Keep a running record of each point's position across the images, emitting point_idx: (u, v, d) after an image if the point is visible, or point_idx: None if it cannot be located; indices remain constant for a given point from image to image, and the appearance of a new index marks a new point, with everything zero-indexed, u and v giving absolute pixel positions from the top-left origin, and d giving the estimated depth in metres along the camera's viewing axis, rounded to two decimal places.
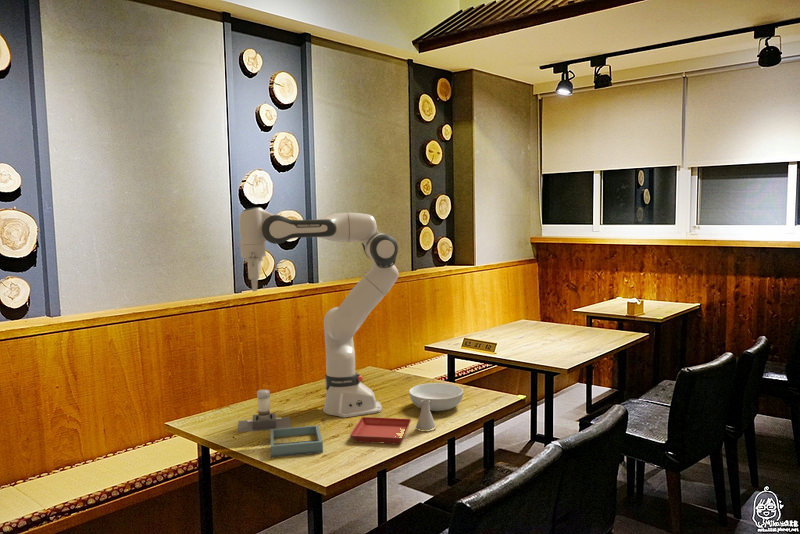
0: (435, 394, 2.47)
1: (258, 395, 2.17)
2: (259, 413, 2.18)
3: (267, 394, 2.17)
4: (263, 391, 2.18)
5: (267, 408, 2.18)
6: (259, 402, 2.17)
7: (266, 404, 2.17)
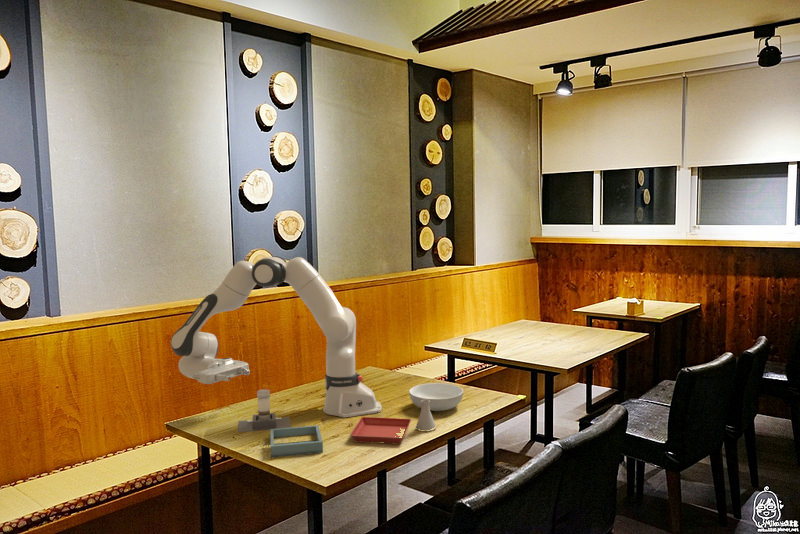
0: (435, 394, 2.47)
1: (258, 395, 2.17)
2: (259, 413, 2.18)
3: (267, 394, 2.17)
4: (263, 391, 2.18)
5: (267, 408, 2.18)
6: (259, 402, 2.17)
7: (266, 404, 2.17)
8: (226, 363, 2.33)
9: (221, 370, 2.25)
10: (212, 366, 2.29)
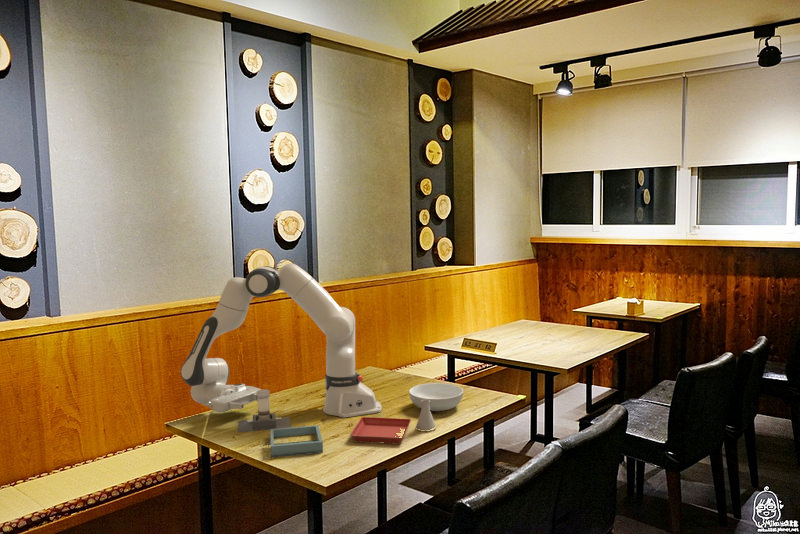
0: (435, 394, 2.47)
1: (258, 395, 2.17)
2: (259, 413, 2.18)
3: (267, 394, 2.17)
4: (263, 391, 2.18)
5: (267, 408, 2.18)
6: (259, 402, 2.17)
7: (266, 404, 2.17)
8: (239, 390, 2.31)
9: (234, 397, 2.22)
10: (225, 393, 2.26)
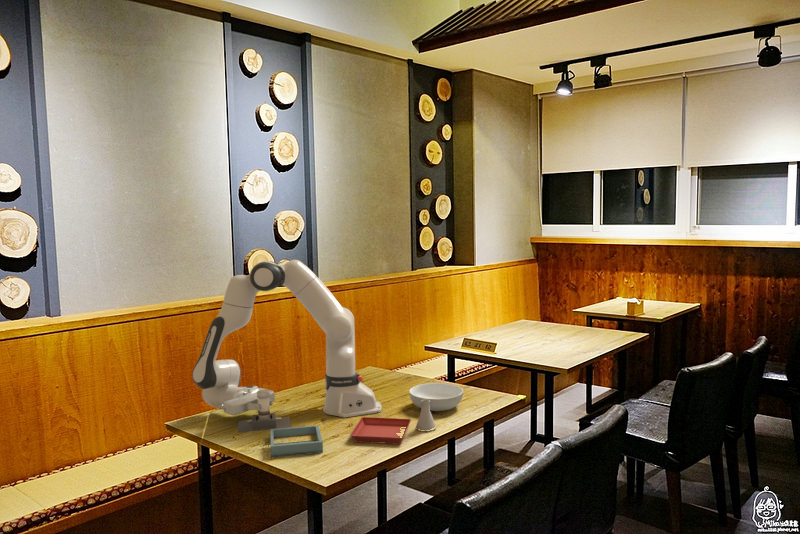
0: (435, 394, 2.47)
1: (258, 395, 2.17)
2: (259, 413, 2.18)
3: (267, 394, 2.17)
4: (263, 391, 2.18)
5: (267, 408, 2.18)
6: (259, 402, 2.17)
7: (266, 404, 2.17)
8: (252, 392, 2.27)
9: (247, 400, 2.19)
10: (238, 395, 2.23)
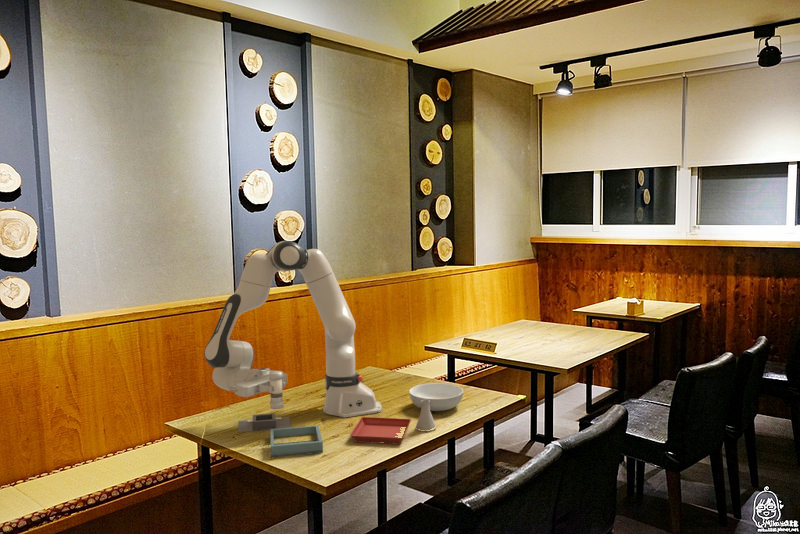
0: (435, 394, 2.47)
1: (270, 376, 2.08)
2: (271, 395, 2.09)
3: (280, 375, 2.08)
4: (275, 372, 2.09)
5: (280, 390, 2.09)
6: (271, 384, 2.08)
7: (279, 386, 2.08)
8: (264, 374, 2.18)
9: (259, 382, 2.10)
10: (249, 377, 2.14)
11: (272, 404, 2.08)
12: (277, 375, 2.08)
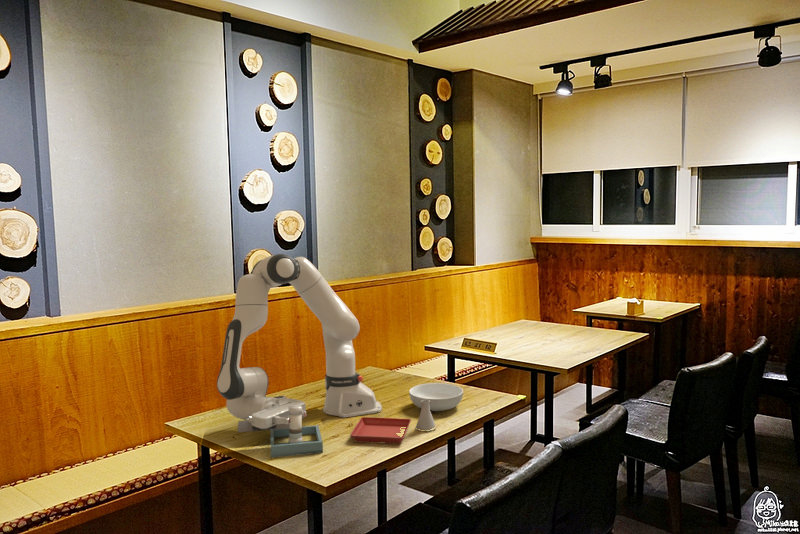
0: (435, 394, 2.47)
1: (290, 411, 1.99)
2: (290, 431, 1.99)
3: (300, 410, 1.99)
4: (295, 407, 2.00)
5: (299, 426, 2.00)
6: (291, 419, 1.99)
7: (299, 421, 1.99)
8: (281, 403, 2.09)
9: (277, 412, 2.00)
10: (266, 407, 2.04)
11: (291, 440, 1.99)
12: (297, 410, 1.99)
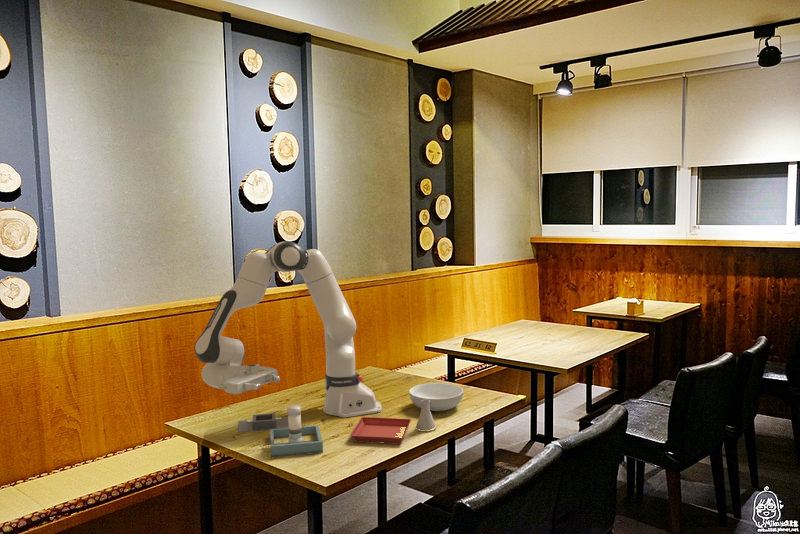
0: (435, 394, 2.47)
1: (289, 412, 1.99)
2: (290, 431, 1.99)
3: (298, 411, 1.99)
4: (294, 407, 2.00)
5: (298, 426, 1.99)
6: (290, 419, 1.99)
7: (298, 422, 1.99)
8: (253, 371, 2.15)
9: (249, 378, 2.06)
10: (239, 374, 2.10)
11: (291, 441, 1.99)
12: (296, 410, 1.98)
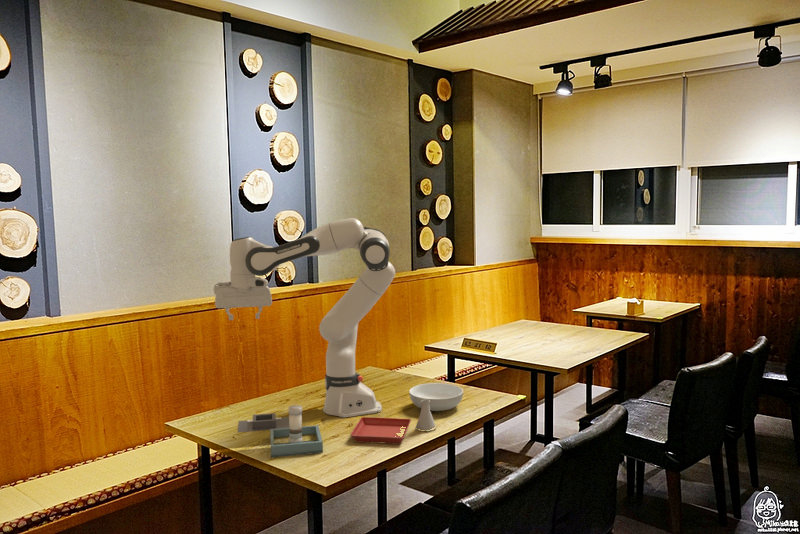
0: (435, 394, 2.47)
1: (290, 411, 1.99)
2: (290, 431, 1.99)
3: (299, 411, 1.99)
4: (295, 407, 2.00)
5: (299, 426, 1.99)
6: (291, 419, 1.99)
7: (298, 422, 1.99)
8: (254, 290, 2.25)
9: (234, 305, 2.24)
10: (237, 289, 2.23)
11: (291, 440, 1.99)
12: (297, 410, 1.98)
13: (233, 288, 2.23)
